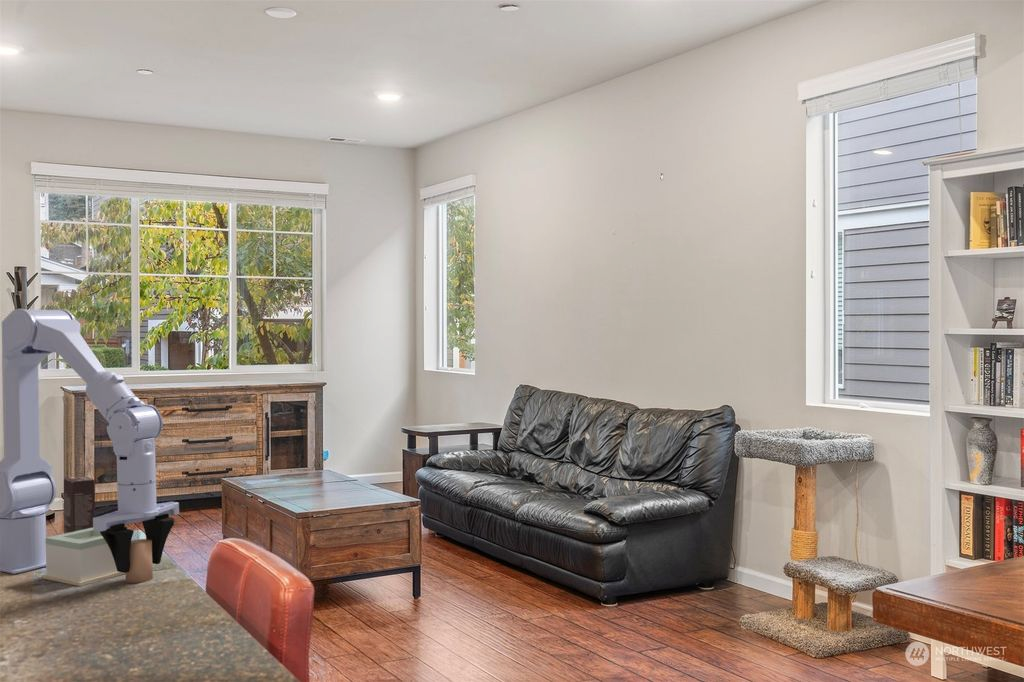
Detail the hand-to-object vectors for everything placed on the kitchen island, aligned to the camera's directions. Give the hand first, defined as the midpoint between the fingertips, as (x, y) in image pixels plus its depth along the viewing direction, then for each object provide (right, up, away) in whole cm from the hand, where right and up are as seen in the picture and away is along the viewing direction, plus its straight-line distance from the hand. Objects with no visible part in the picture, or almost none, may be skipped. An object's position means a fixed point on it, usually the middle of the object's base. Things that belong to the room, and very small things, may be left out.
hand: (139, 567), depth 150 cm
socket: (-10, -2, +3) cm, 10 cm away
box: (-22, -2, +27) cm, 35 cm away
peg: (0, -2, 0) cm, 2 cm away
